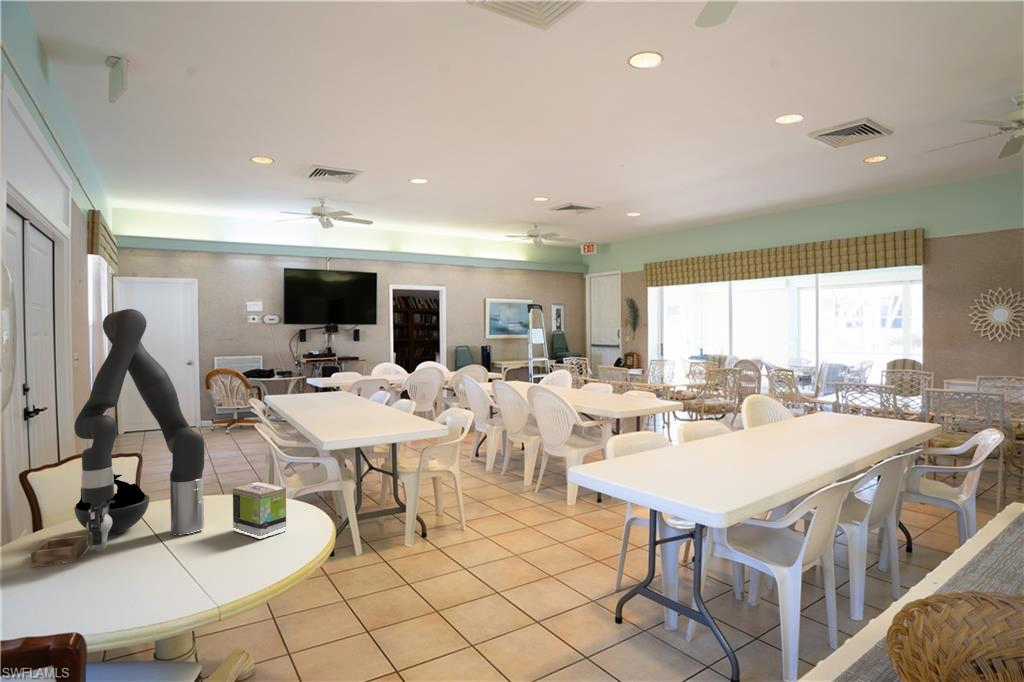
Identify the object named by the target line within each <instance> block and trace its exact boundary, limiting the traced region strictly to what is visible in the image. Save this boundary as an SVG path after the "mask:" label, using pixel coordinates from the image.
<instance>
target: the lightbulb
mask: <svg viewBox="0 0 1024 682" xmlns="http://www.w3.org/2000/svg"><path fill="white" fill-rule="evenodd" d="M101 519H102V518H101ZM101 519H99V520H101ZM112 523H113V522H112V518H111V517H110V516H109V515H108V514H105V521H104V523H102V543H101V544H100V545H94V548H95V549H94V550H95V551H97V552H102V551H103V550H105V549H106V548H107V541H108V535H109V534H108V532H109V530H110V528H111V526H112ZM95 527H97V525H96V524H94V528H95ZM86 530H87V531H88V530H89V528H88V522H87V529H86ZM89 534H90V535H91V536H92V533H91V532H90V533H89Z"/></svg>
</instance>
